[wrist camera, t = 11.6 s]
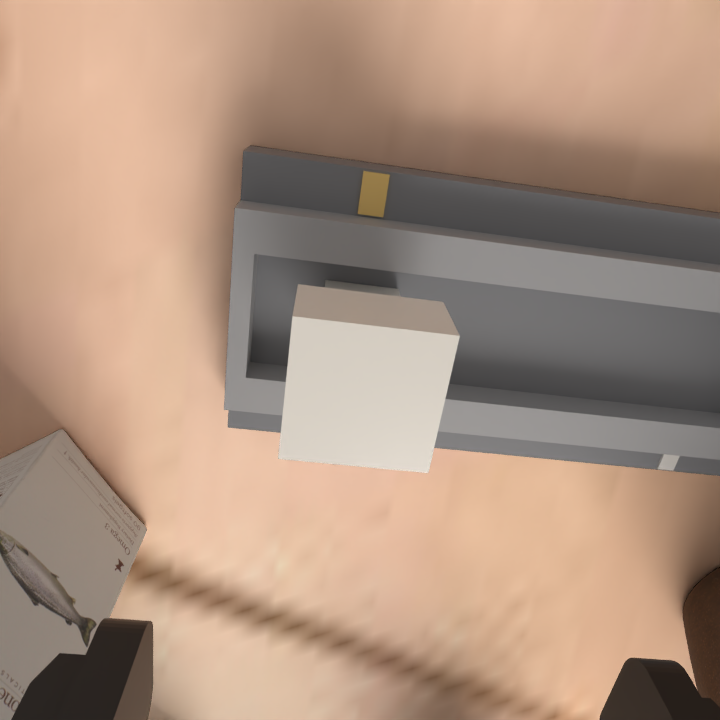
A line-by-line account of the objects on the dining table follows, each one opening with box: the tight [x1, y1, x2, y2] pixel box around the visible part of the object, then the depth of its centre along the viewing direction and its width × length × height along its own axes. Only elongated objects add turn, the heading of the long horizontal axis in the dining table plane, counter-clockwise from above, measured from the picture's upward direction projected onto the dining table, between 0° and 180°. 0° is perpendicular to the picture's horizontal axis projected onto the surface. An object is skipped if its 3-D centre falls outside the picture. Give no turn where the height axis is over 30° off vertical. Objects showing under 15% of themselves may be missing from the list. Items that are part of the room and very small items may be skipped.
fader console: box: [224, 145, 720, 476], centre depth 26 cm, size 24×12×4 cm, turn 82°
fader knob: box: [278, 280, 460, 473], centre depth 22 cm, size 5×5×7 cm
